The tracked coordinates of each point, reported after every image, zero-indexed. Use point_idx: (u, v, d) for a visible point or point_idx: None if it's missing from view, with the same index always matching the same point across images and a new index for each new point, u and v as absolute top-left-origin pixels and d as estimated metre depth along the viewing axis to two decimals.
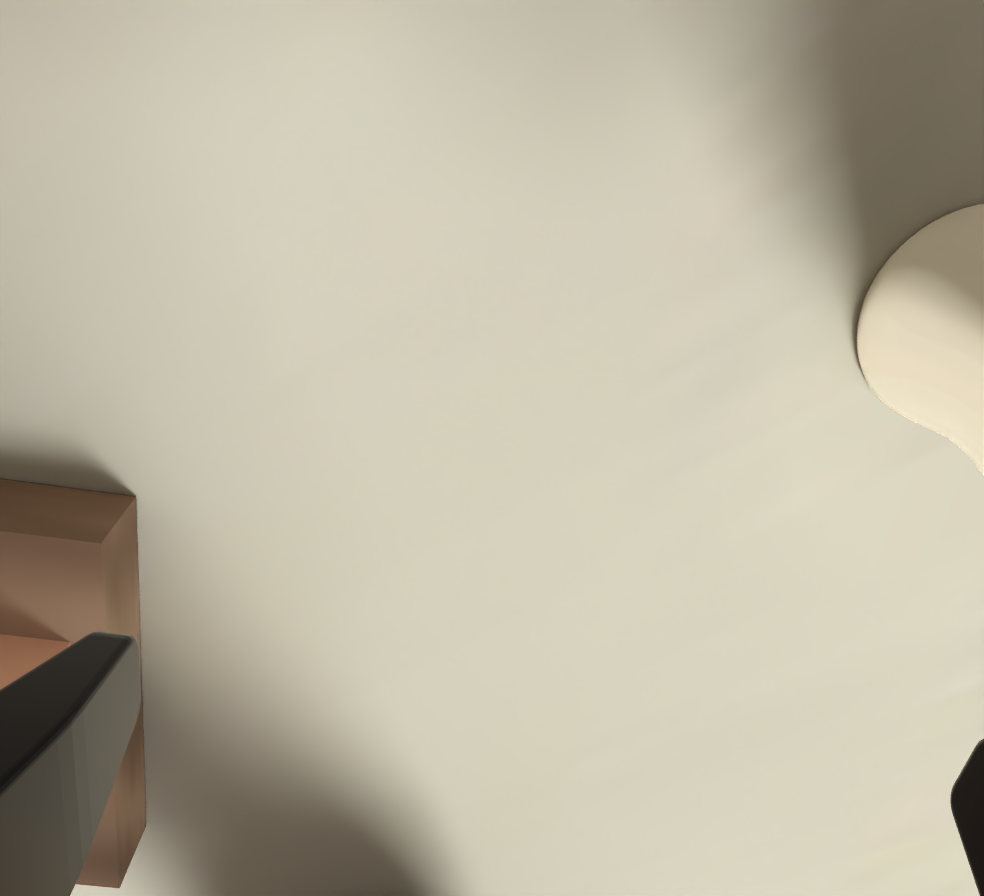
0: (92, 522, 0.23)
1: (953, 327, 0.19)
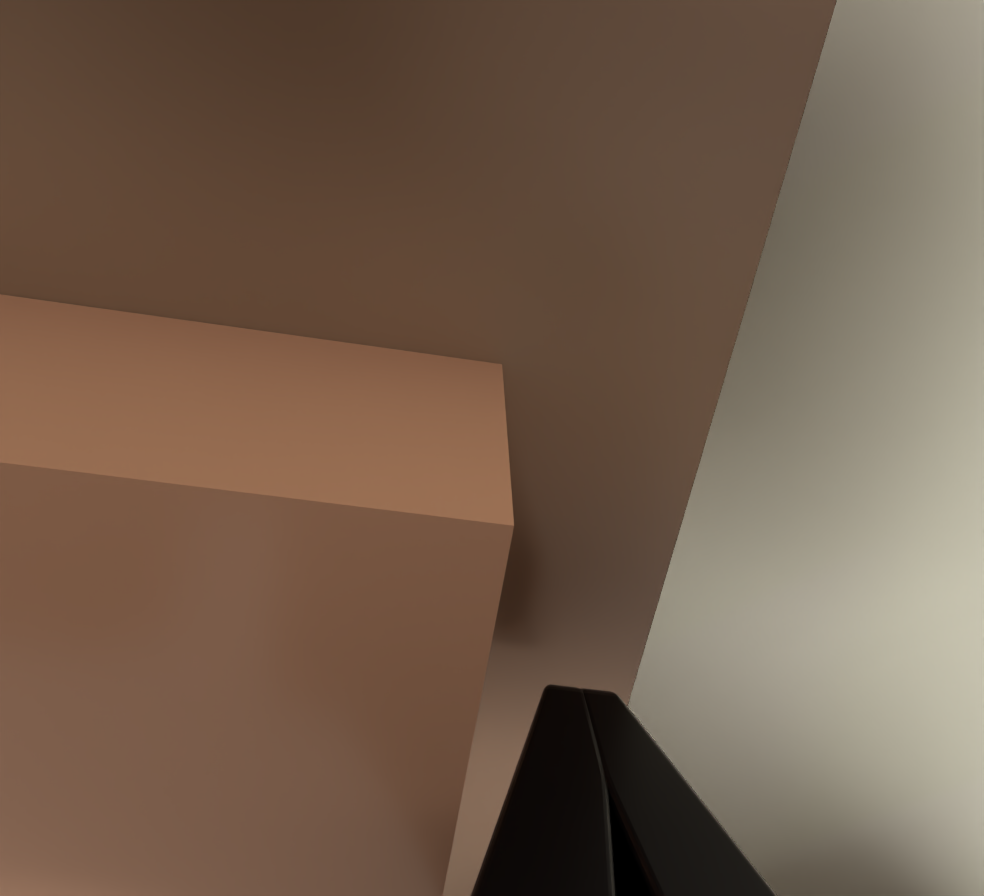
0: None
1: None
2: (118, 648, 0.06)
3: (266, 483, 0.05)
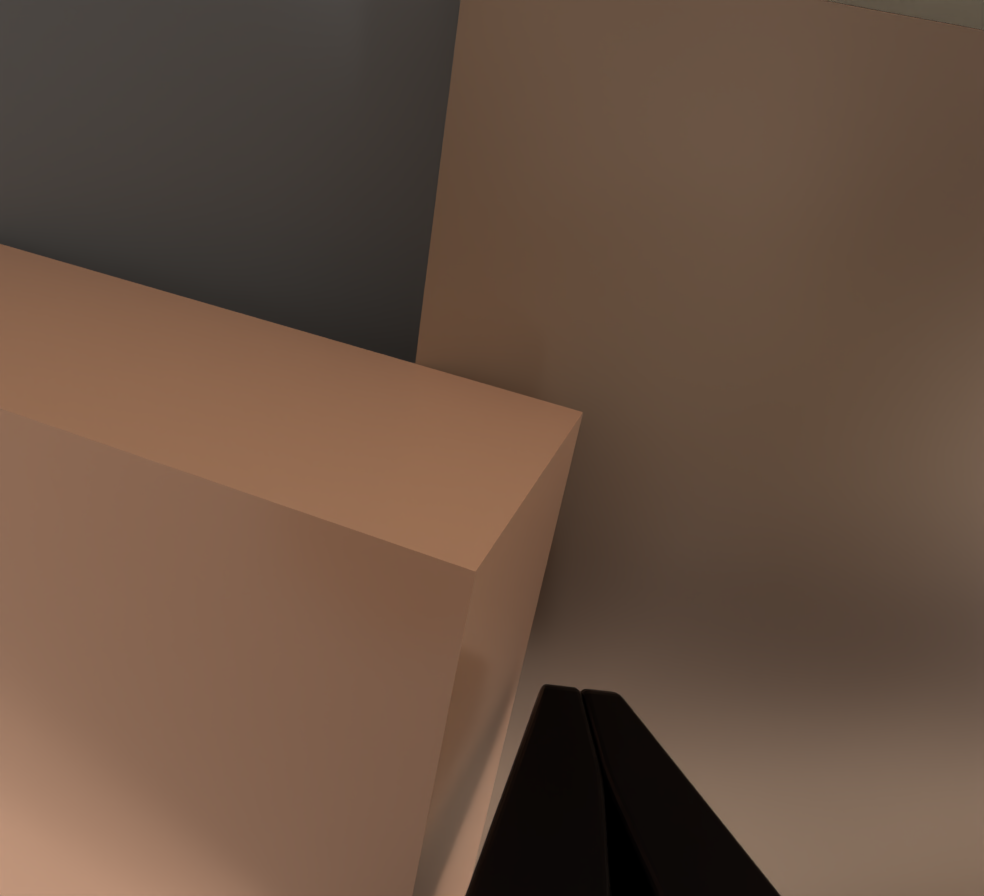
0: None
1: None
2: (129, 611, 0.06)
3: (257, 483, 0.06)
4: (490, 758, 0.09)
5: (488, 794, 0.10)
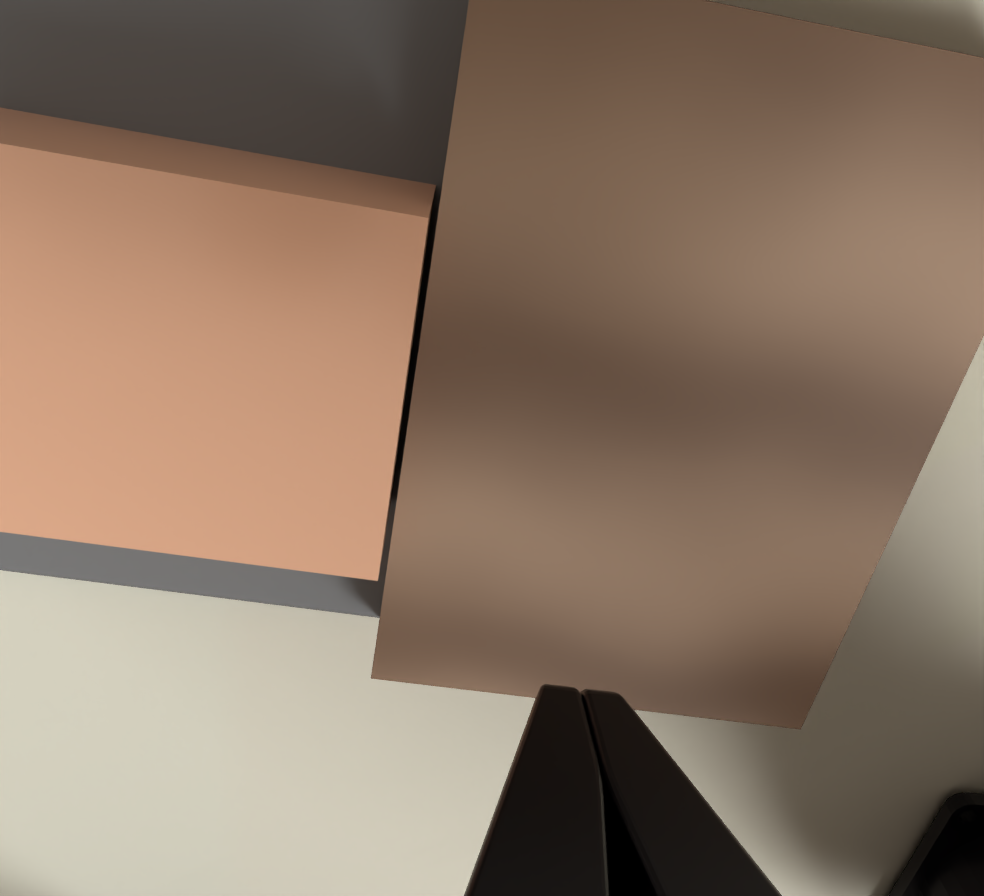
0: None
1: None
2: (256, 276, 0.13)
3: (324, 197, 0.13)
4: (407, 384, 0.17)
5: (402, 421, 0.18)
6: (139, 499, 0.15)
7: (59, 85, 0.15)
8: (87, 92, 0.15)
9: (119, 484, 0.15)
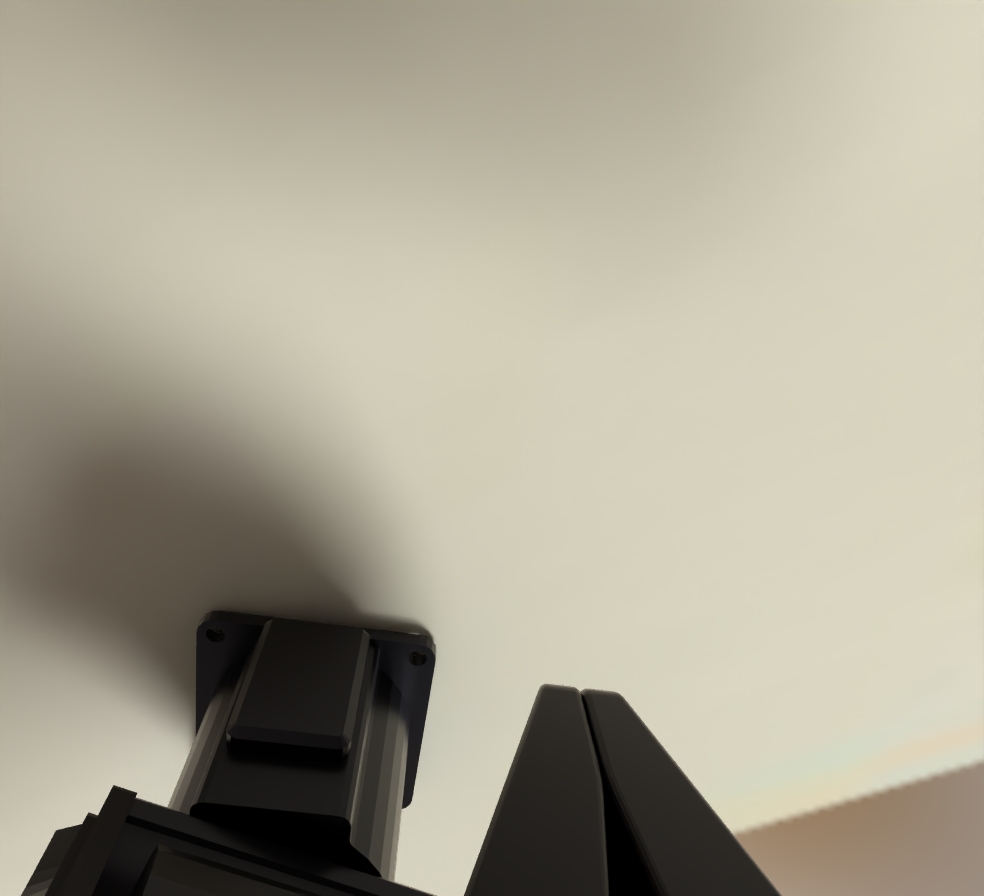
0: None
1: None
2: None
3: None
4: None
5: None
6: None
7: None
8: None
9: None
